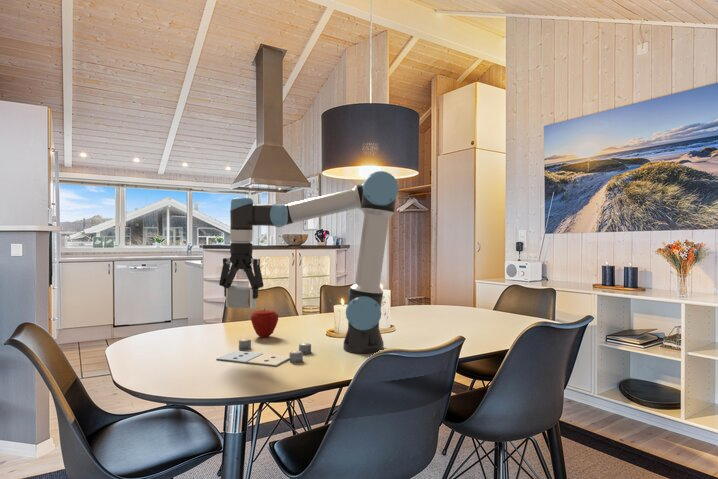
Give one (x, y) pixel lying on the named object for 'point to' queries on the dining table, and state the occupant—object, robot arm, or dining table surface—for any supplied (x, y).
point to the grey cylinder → (239, 297)
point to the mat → (255, 358)
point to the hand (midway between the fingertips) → (240, 307)
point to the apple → (264, 322)
